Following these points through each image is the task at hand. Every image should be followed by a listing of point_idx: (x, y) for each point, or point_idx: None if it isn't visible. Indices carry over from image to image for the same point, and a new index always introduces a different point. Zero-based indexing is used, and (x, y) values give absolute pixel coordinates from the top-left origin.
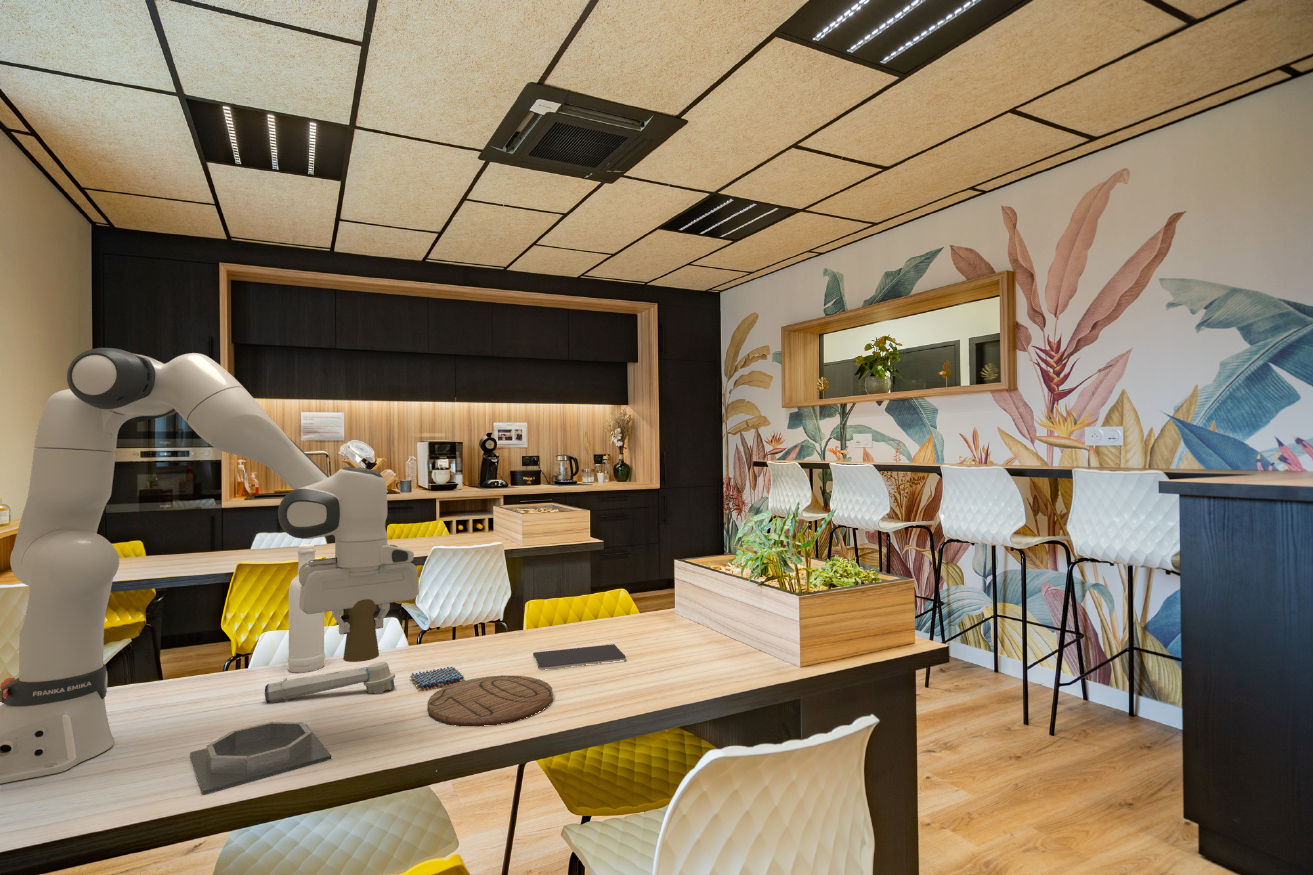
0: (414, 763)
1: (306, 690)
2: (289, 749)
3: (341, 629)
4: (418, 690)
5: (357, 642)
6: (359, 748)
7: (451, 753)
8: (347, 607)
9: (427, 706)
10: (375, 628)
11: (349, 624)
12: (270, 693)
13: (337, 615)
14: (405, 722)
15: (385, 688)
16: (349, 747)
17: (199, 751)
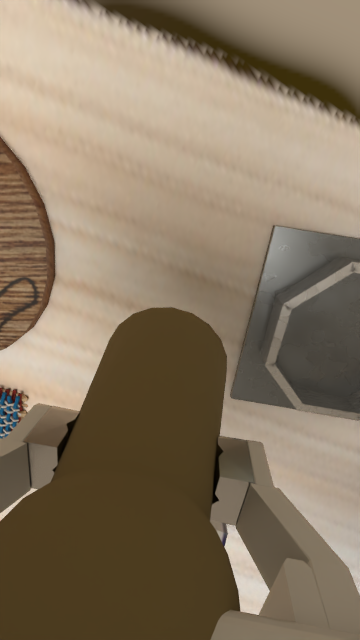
0: (179, 45)
1: None
2: (349, 262)
3: (267, 462)
4: (27, 399)
5: (197, 365)
6: (216, 231)
7: (97, 24)
8: (285, 634)
9: (44, 305)
10: (79, 412)
11: (222, 474)
12: (220, 528)
13: (333, 573)
14: (101, 281)
15: None
16: (225, 252)
17: None
